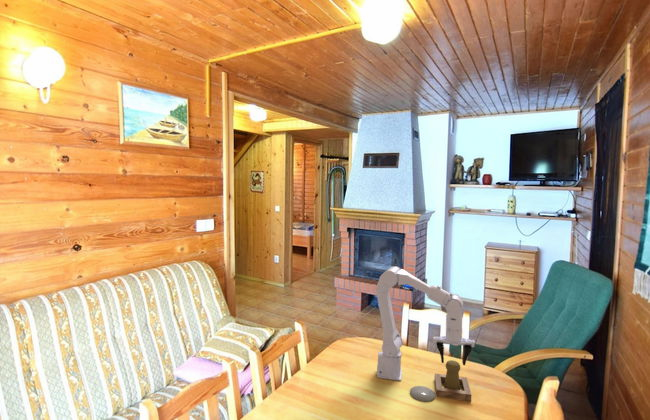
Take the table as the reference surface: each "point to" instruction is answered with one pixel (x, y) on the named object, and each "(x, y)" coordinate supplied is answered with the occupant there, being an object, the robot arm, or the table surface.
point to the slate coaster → (422, 393)
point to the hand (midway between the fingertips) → (453, 362)
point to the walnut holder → (452, 393)
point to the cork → (452, 375)
